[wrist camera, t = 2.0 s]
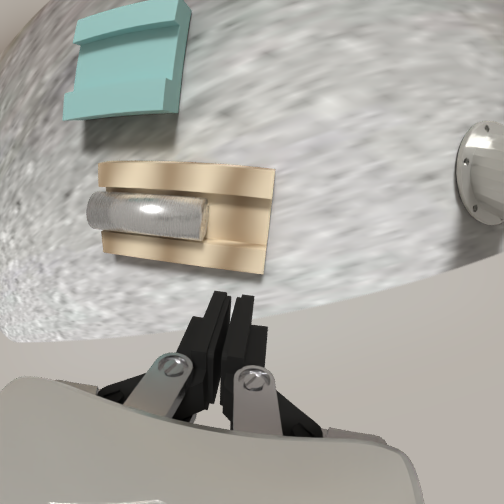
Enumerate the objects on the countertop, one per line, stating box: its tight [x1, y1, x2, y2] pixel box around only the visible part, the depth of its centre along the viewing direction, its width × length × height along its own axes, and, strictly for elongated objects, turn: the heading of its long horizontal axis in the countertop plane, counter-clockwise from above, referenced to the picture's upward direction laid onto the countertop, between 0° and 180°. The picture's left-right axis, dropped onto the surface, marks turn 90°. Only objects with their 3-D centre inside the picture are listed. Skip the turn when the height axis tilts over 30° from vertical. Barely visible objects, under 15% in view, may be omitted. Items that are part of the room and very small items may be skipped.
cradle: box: [63, 0, 191, 121], centre depth 21 cm, size 12×12×4 cm
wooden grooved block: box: [98, 161, 275, 274], centre depth 28 cm, size 18×10×2 cm, turn 85°
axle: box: [86, 191, 209, 241], centre depth 26 cm, size 12×4×4 cm, turn 85°
